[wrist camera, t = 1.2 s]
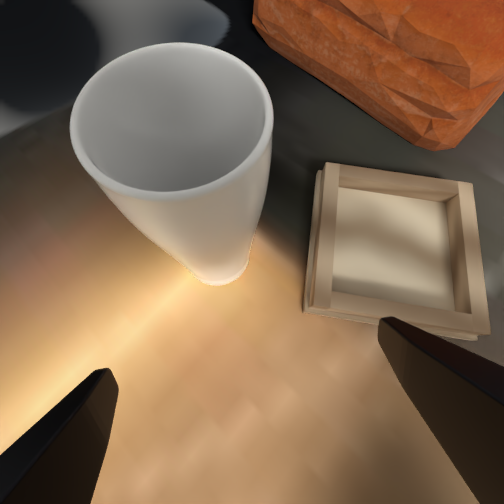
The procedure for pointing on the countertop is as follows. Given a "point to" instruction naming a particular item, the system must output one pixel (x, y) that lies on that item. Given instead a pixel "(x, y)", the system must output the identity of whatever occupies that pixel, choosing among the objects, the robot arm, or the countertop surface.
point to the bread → (398, 58)
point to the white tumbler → (181, 151)
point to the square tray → (396, 251)
